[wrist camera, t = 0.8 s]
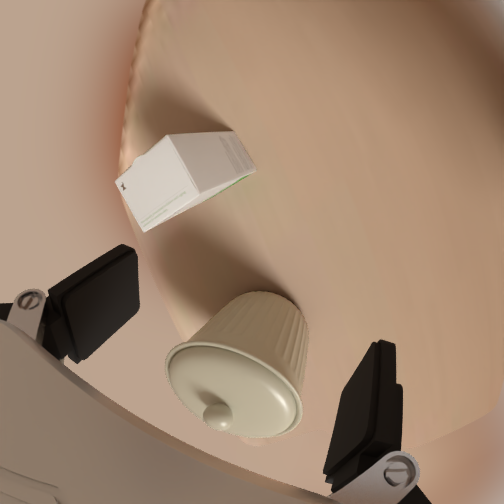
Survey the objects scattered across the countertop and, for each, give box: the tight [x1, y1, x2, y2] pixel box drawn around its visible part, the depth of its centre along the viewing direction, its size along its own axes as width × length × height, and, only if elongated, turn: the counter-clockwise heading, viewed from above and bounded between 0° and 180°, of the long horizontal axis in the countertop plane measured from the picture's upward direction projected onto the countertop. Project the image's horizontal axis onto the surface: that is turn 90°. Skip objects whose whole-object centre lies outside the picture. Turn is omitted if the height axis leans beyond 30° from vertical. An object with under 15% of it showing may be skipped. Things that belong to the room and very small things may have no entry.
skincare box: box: [115, 131, 257, 232], centre depth 32 cm, size 8×7×16 cm
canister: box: [165, 291, 309, 438], centre depth 38 cm, size 18×18×21 cm
